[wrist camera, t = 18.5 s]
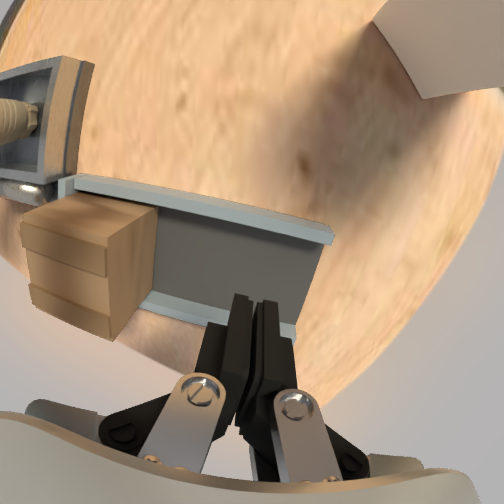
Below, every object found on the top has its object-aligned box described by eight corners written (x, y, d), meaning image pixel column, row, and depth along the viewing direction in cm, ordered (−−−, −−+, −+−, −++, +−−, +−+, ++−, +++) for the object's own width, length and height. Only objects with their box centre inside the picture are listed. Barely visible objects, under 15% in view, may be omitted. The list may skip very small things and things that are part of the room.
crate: (84, 267, 21) (33, 309, 15) (83, 189, 19) (19, 215, 12) (152, 288, 21) (111, 344, 15) (159, 205, 19) (104, 239, 12)
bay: (81, 273, 22) (63, 288, 20) (81, 173, 19) (58, 179, 16) (292, 330, 23) (293, 354, 20) (329, 225, 19) (338, 239, 16)
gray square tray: (7, 188, 20) (-19, 198, 16) (19, 77, 15) (-8, 75, 11) (74, 203, 20) (44, 216, 16) (94, 64, 15) (64, 55, 12)
